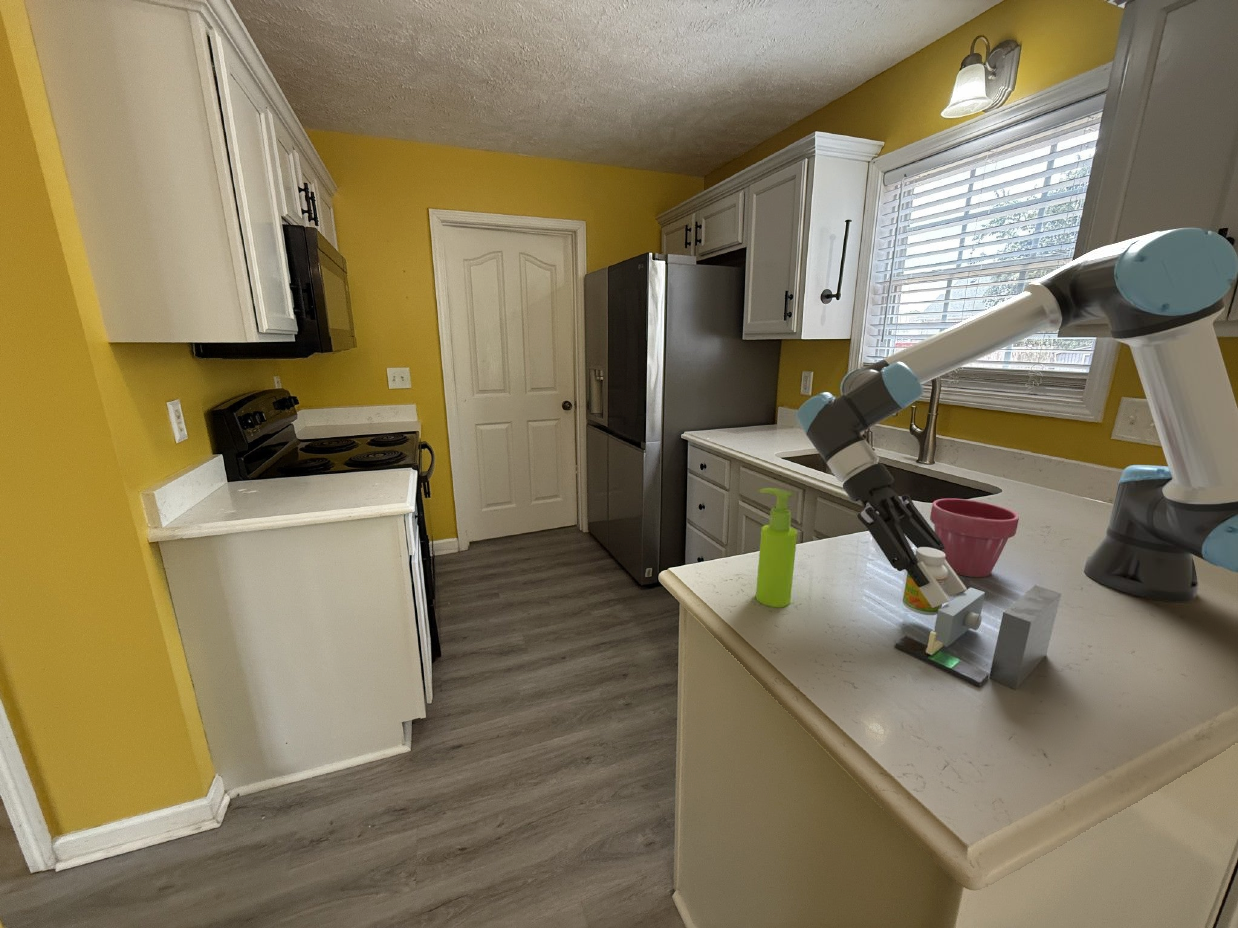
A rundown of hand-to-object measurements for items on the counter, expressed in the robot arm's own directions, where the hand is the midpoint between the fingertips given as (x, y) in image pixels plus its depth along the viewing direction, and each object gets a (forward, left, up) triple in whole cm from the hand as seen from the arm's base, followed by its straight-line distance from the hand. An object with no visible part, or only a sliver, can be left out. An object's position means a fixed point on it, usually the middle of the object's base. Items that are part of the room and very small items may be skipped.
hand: (949, 597), depth 77 cm
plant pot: (-13, -28, -6) cm, 31 cm away
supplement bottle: (+3, -2, -4) cm, 5 cm away
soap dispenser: (+26, -5, -6) cm, 27 cm away
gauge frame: (-2, +4, -6) cm, 8 cm away
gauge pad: (-1, +3, -5) cm, 6 cm away
